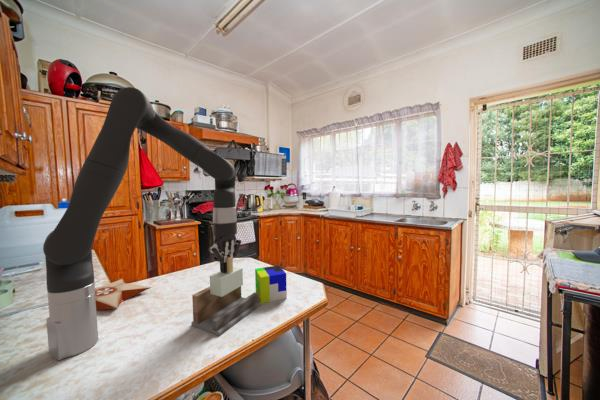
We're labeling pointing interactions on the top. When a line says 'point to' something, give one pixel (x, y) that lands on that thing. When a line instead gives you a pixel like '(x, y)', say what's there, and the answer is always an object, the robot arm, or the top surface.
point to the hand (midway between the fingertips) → (226, 271)
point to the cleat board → (221, 309)
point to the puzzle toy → (270, 284)
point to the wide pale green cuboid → (226, 279)
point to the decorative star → (116, 294)
